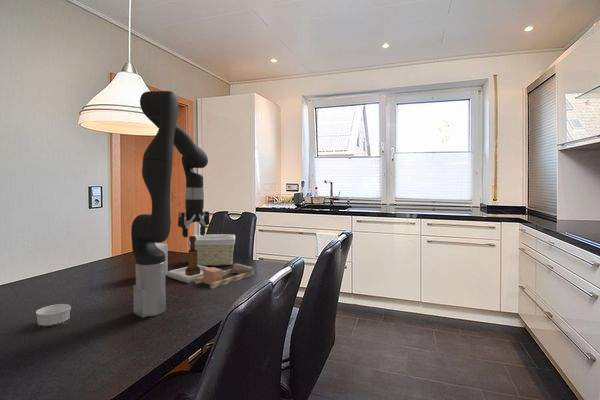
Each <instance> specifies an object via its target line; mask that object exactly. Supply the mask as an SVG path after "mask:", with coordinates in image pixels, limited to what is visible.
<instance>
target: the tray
mask: <svg viewBox="0 0 600 400" xmlns="http://www.w3.org/2000/svg"><path fill="white" fill-rule="evenodd" d="M197 267H199V268H200V274H197V275H193V276H188V275H186V274H185V270H186V269H187V268H188V266H185V267H180V268H177V269H171V270H168V275H167V277H168V278H170V279H171V278H172V279H174V280H176V281H177V280H178V281H180V282H184V283H186V284H190V283H193V282H194V283H195V279H196V278H200V277H203V269H207V268H210V267H208V266H201V265H197Z"/></svg>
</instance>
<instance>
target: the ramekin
mask: <svg viewBox="0 0 600 400" xmlns="http://www.w3.org/2000/svg"><path fill="white" fill-rule="evenodd" d="M71 309H72V306H71V304H68V303H57V304H52V305H47V306H43V307H41V308H39V309H37V310H36V311H35V315H36V319H37V320H36V322H37V325H38V324H39V325H52V324H57V323H61V322H64V321H66V320H68V319H69V320H70V317H71V315H70V314H71ZM69 320H68V321H69ZM39 325H38V326H39Z"/></svg>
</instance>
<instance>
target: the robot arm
mask: <svg viewBox="0 0 600 400" xmlns="http://www.w3.org/2000/svg"><path fill="white" fill-rule="evenodd" d="M139 106H140V109H141V112H143V115H144V116H145V117H146V118H147V119H148V120H149V121H150V122H151V123H153V125H154V126H155V127H157V128H158V130H157V132H156V135H154V137H153V139H152V140H151V142H150V143H149V145H148V146H147V147H146V149H145V151H144V153H143V155H142V156H143V157H142V168H141V176H142V179H143V182H144V184H145V186H146V189H147V191H148V193H149V195H150V196H149V197H150V200H151V214H148V213H145V214H143V213H142V214H138V215H137V216H136V217H135V218H134V219H133V220H132V222H131V223H132V224H131V229H130V233H131V234H130V235H131V236H130V237H131V248H132V254H133V258H134V259H135V284H133V287H132V290H133V297H132V299H133V314H134V315H136V316H138V317H141V318H142V319H143V318H146V317H147V318H148V317H154V316H155V317H156V316H158V315H159V316H160V315H161V314H163V313H165V312H166V310H167V292H166V291H167V288H166V287H167V286H166V285H167V283H166V276H167V275H166V266H165V253H164V252H163V251H162V250H160V249H159V248H158V247H157V246H156V245H155V243H161V244H162V243H164V242H165V241H166V240H168V238H169V236H170V234H171V233H170V232H171V223H172V222H171V185H172V184H171V183H172V172H173V154H174V152H173V151H174V147H175V149H176V150H177V151H178V153H179V154H180V155H182V156H181V163H182V167H183V171H184V175H185V176H184V177H185V195H184V196H185V197H184V198H185V199H184V209H185V212H178V216H177V217H178V218H177V227H178V228H181V230H182V231H181V232H182V233H181V234H182V237H183V238H189V237H188V236H189V226H190V225H191V224H192V223H198V224H199V227H200V228H199V235H205V234H206V227H207V226H208V225H210V212H209V211H207V210H204V207H205V206H204V197H205V194H204V176H203V174H201V173H196V172H195V170H194V169H203V168H205V167H206V166H208V163H209V158H208V155H207V153H206V152H205V151H204V150H203V149H202V148H201V147H199V145H197V144H196V143H195V142H194V140H193V139H192V137H191V135H190V134H189V133H188V131H186V129H184V128H182V127H181V126H179V125H178V124H177V121H178V115H179V101H178V97H177V95H176V93H174V92H173V91H170V90H150V91H144V92H142V94H141V95H140V99H139Z"/></svg>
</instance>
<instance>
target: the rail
mask: <svg viewBox="0 0 600 400" xmlns="http://www.w3.org/2000/svg"><path fill="white" fill-rule="evenodd" d="M232 266H233V268H231V269H230V268H229V269H225V270H223V277H224V276H229V275H232V274H235V273H236V274H237V275H234V276H230V277H228V278H223V280H220V281H217V282H213V283H210V285H209V286H210V287H209V288H210V289H212V290H213V289H216V288H219V287H222V286H225V285H228V284H232V283H235V282H238V281H241V280H244V279H247V278H250V277H254V275H255V273H254V272H255V269H254V267H253V266H249V265H244V264H241V263H237V262H236V263H233V264H232ZM194 283H195V284H196V285H197V284H201V283H203V277H200V278H196V279H195V282H194Z"/></svg>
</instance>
